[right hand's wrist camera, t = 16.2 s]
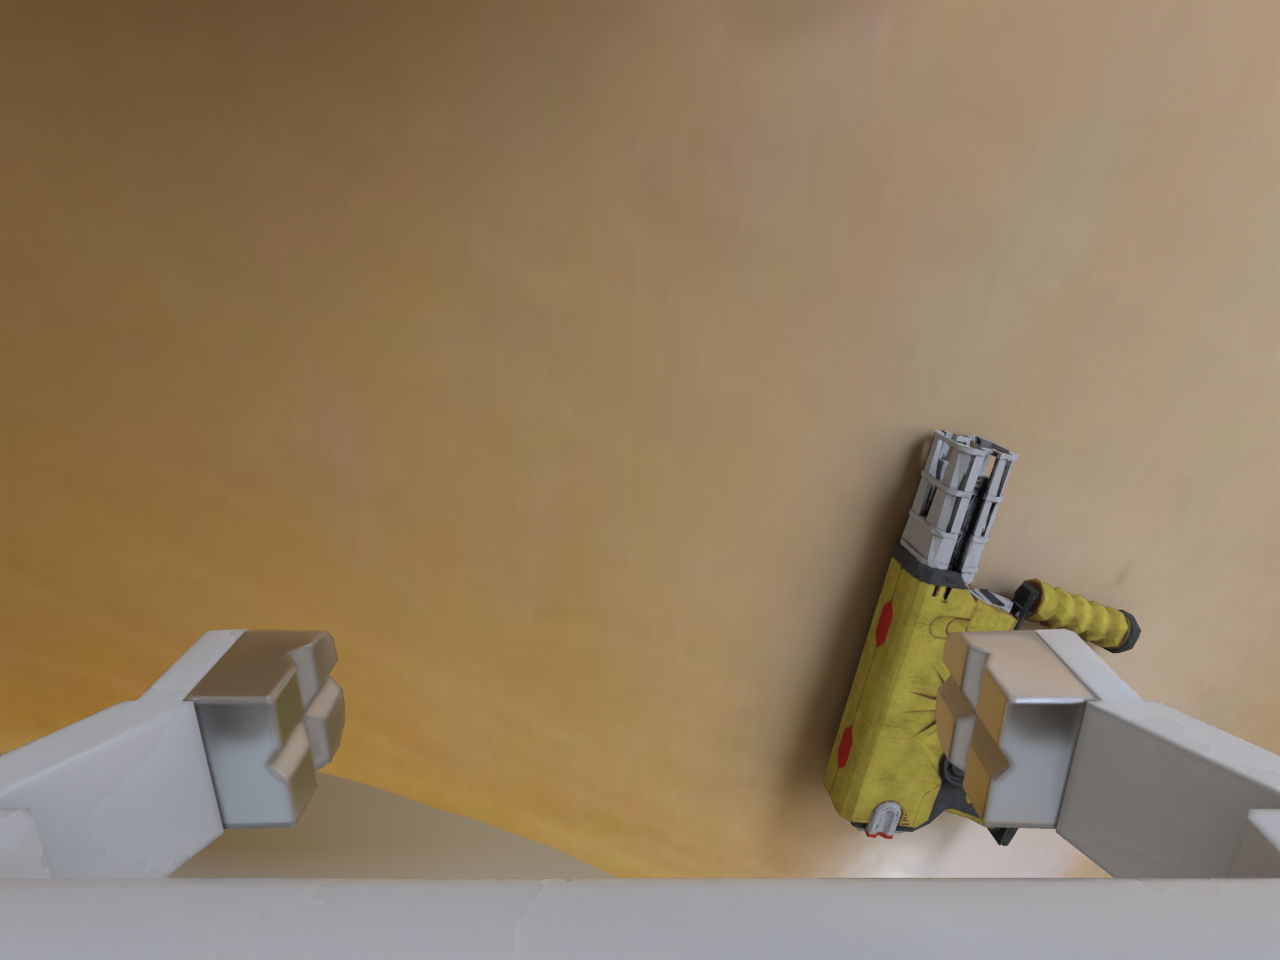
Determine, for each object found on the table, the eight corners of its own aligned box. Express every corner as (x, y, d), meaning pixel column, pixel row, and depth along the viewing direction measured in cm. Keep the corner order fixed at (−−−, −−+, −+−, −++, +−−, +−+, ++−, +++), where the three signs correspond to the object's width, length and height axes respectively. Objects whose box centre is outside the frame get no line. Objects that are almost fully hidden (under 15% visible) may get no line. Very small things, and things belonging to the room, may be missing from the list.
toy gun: (1228, 492, 40) (965, 449, 38) (1066, 860, 47) (836, 842, 45) (1161, 465, 45) (922, 425, 42) (1022, 805, 52) (811, 786, 49)
